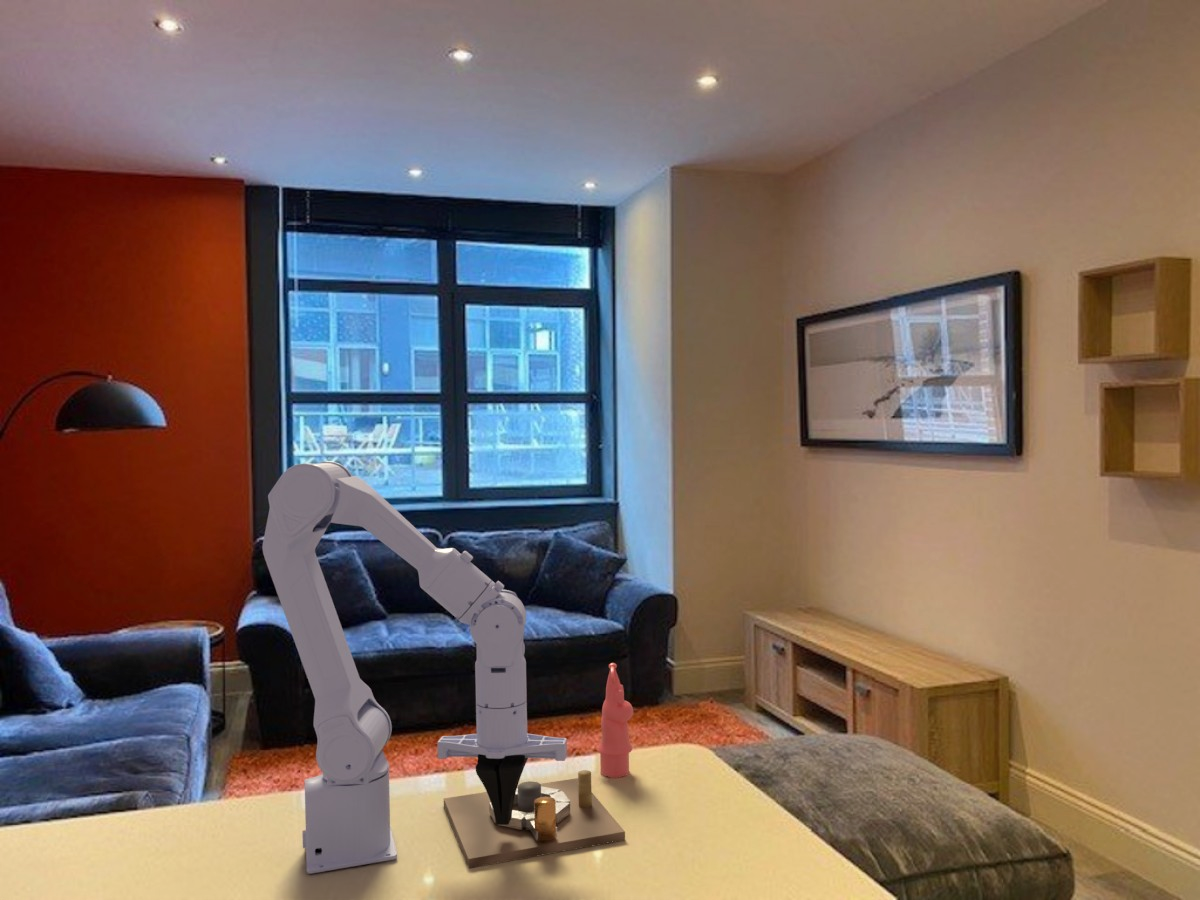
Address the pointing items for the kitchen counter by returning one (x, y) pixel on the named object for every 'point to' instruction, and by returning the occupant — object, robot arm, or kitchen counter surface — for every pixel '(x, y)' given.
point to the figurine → (615, 729)
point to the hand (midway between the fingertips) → (503, 820)
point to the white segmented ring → (540, 814)
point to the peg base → (502, 843)
